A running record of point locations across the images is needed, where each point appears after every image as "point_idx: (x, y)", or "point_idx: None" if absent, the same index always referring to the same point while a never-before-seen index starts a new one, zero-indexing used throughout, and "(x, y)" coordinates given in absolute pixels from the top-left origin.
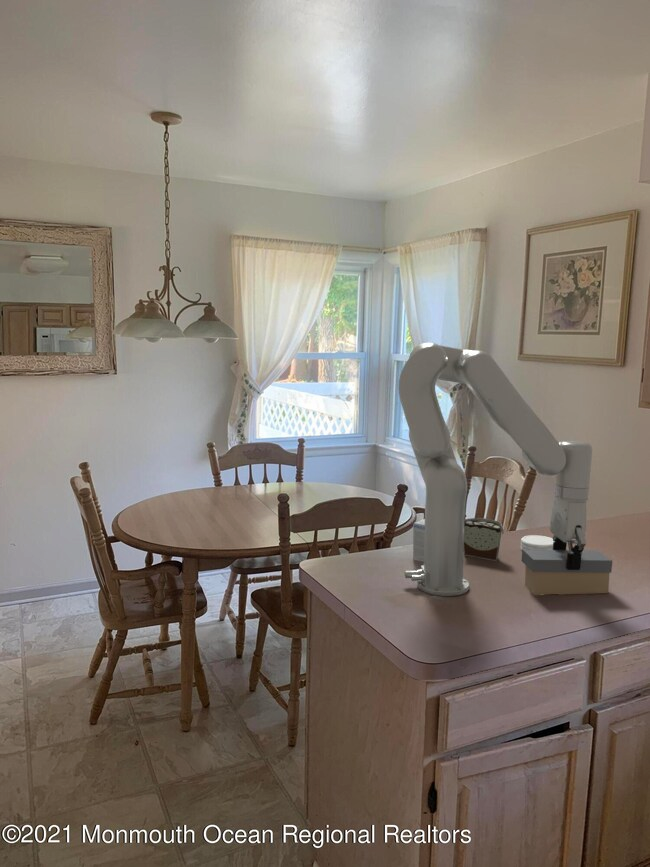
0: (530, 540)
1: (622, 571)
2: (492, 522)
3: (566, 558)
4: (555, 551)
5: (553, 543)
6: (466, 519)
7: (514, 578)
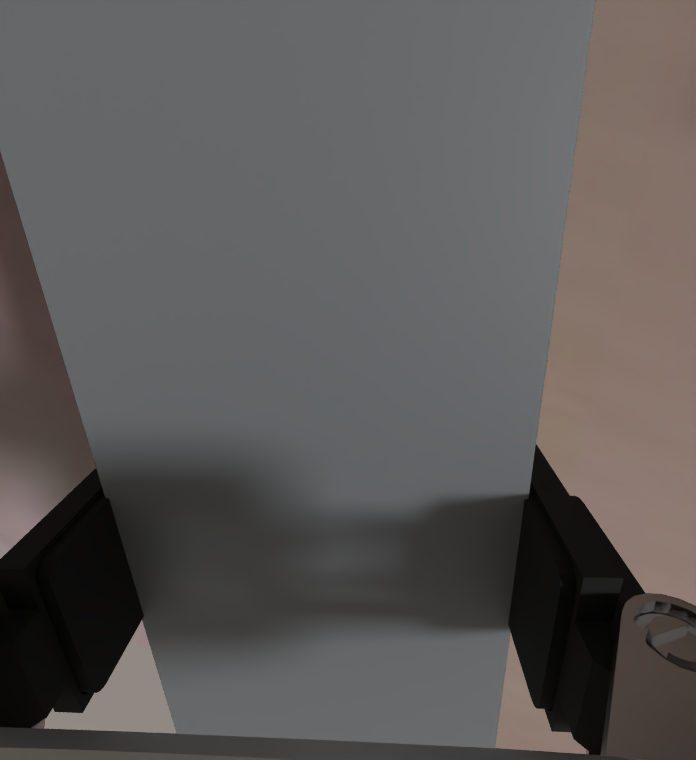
0: None
1: (576, 752)
2: None
3: (169, 513)
4: (452, 488)
5: (596, 558)
6: None
7: (598, 66)
